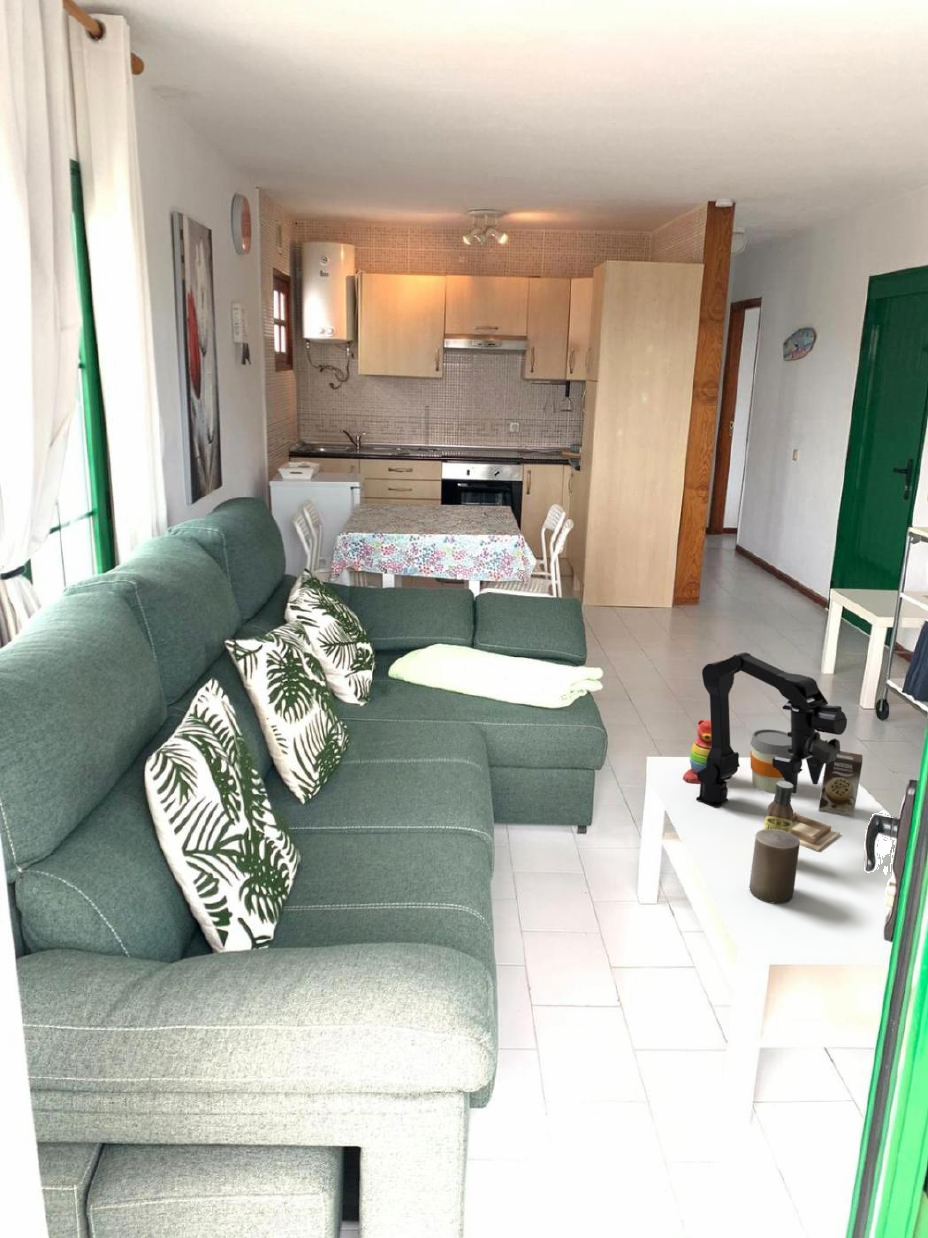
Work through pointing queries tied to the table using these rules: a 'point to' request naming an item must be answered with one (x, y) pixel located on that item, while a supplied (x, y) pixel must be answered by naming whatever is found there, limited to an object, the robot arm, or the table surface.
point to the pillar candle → (774, 865)
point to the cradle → (812, 832)
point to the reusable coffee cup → (767, 757)
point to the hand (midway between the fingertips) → (804, 789)
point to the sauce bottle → (780, 808)
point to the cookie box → (841, 784)
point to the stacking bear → (699, 752)
